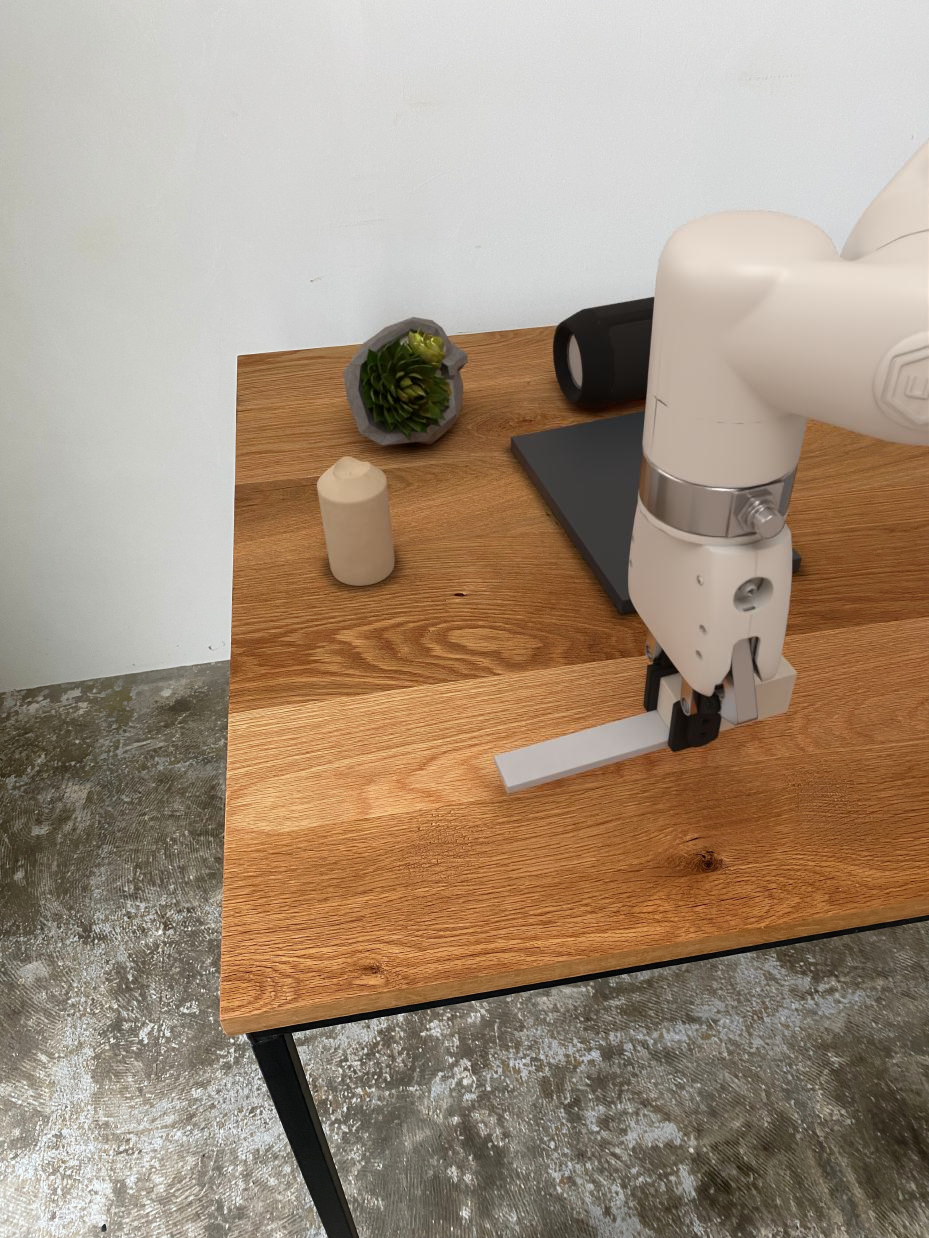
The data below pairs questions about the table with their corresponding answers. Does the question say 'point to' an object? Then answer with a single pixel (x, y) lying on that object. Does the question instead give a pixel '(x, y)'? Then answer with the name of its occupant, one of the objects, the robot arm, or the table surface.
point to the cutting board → (594, 491)
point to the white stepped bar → (625, 735)
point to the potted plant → (406, 383)
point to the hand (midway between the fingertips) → (679, 722)
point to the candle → (356, 522)
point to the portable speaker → (605, 353)
